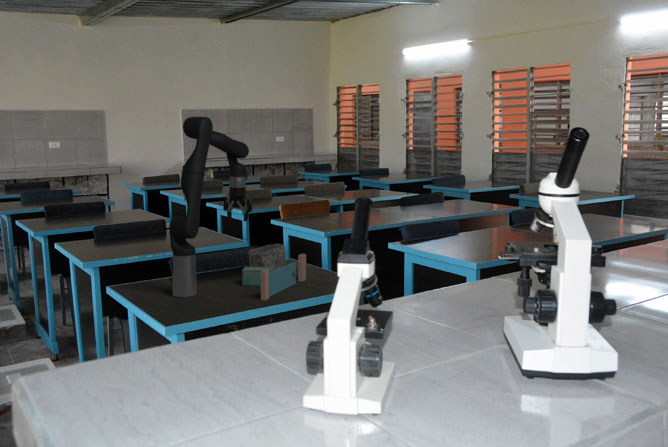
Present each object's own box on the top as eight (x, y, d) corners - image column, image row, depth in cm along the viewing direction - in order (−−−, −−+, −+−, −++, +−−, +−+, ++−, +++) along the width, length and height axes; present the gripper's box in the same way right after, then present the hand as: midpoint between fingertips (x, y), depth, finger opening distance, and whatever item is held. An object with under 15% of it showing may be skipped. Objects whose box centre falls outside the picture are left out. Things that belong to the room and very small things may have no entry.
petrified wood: (244, 272, 309) (243, 241, 307) (277, 268, 317) (277, 239, 314) (258, 280, 292) (257, 248, 290) (292, 276, 300) (292, 245, 298)
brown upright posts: (265, 300, 260) (264, 271, 258) (260, 299, 261) (260, 271, 259) (306, 279, 295) (306, 254, 293) (302, 279, 295) (302, 253, 293)
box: (272, 286, 282) (272, 269, 281) (241, 286, 283) (241, 269, 282) (274, 282, 290) (274, 266, 289) (244, 282, 290) (244, 266, 289)
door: (272, 297, 263) (271, 272, 261) (266, 297, 264) (266, 271, 262) (299, 283, 286) (299, 260, 284) (293, 283, 287) (293, 259, 285)
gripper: (220, 186, 297) (220, 220, 299) (246, 187, 292) (246, 222, 294) (228, 185, 304) (228, 218, 306) (254, 186, 299) (254, 220, 301)
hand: (237, 220), depth 300 cm, fingers open, 8 cm apart
